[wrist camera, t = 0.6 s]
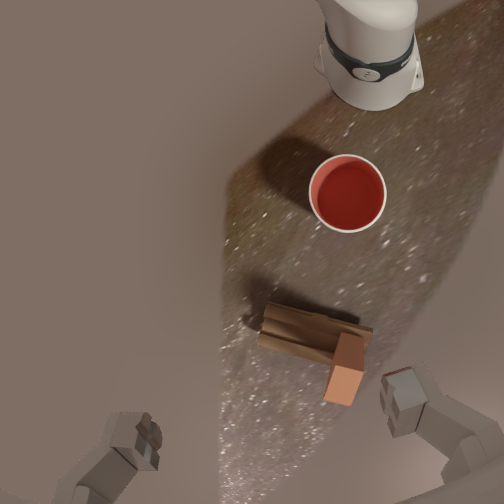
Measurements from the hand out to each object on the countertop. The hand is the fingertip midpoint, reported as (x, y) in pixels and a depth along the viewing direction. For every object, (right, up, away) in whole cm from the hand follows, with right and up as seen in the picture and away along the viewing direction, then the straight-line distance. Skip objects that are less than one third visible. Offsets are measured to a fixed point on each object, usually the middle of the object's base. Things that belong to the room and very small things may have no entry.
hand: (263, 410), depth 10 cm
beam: (+10, -8, +42) cm, 44 cm away
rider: (+14, -9, +37) cm, 41 cm away
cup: (+15, +13, +39) cm, 44 cm away
